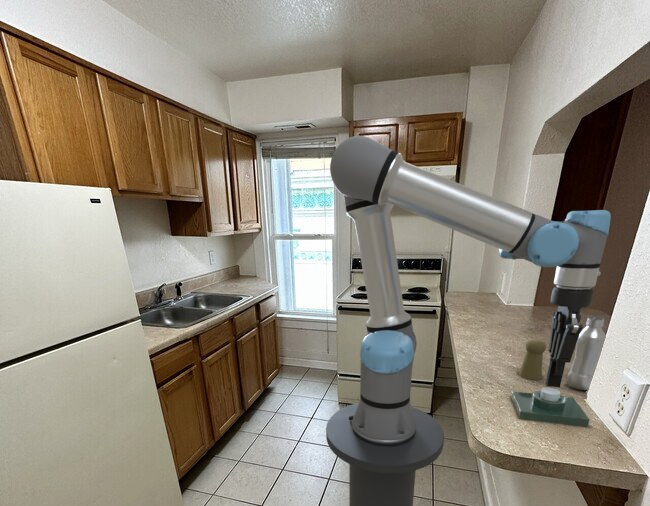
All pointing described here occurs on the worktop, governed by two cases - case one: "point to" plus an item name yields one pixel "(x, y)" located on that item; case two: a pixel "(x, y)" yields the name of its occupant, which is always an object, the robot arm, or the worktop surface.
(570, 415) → the green button base
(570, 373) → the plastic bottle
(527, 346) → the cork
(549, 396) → the white push button
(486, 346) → the worktop surface
